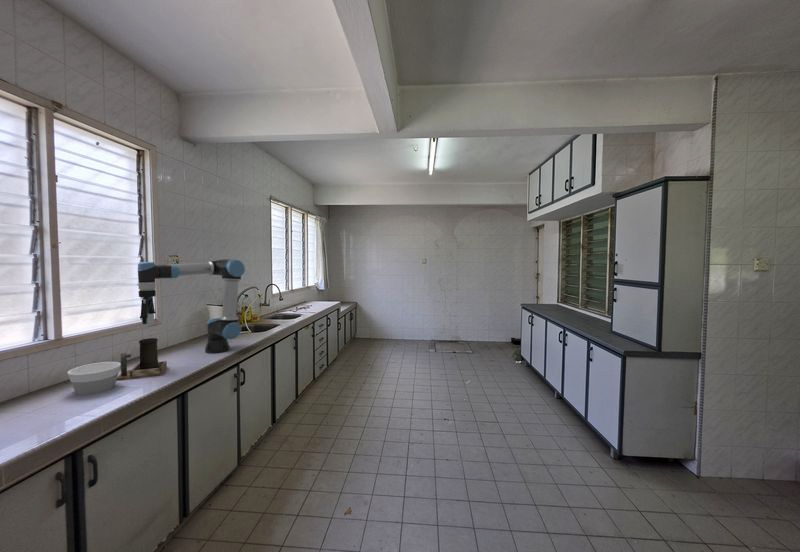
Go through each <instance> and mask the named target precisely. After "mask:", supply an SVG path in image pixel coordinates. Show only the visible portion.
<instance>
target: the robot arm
mask: <svg viewBox="0 0 800 552" xmlns="http://www.w3.org/2000/svg"><path fill="white" fill-rule="evenodd" d="M245 267H246V266H245V264H244V263H243V262H242V261H241V260H238V259H232V258H230V259H225V258H224V259H217V260H209V261H207V262H198V263H194V262H193V263H176V264H175V263H171V264H156V263H155V262H153V261H149V262H148V261H147V262H146V261H141V262H140V261H139V262H138V263H137V277H138V278H137V280H138V282H137V284H136V285H137V287H138V297H139V298H143V299H141V301H140V302H141V306H140V307H141V308H140V316H139V319H141V330H142V331H146V330H147V331H148V330H149V328H150V327H149V326H154V325H155V314H157V313H156V310H155V303H154V297H156V293H157V292H156V285H157V284H156V279H177V278H178V277H181V276H182V277H183V276H195V275H209V276H221V279H222V280H223V294H222V295H223V296H222V297H223V298H222V311H221V312H222V313H221V317H216V318H209V319H208V320H207V324H206V326H207V342H206V345H205V349H204V352H205V353H206V354H217V353H218V354H219V353H226V352H228V351H229V350H231V349H230V343H229V341H228V340H234V339H235V338H237V337H238V336H239V335H240V334H241V332H242V325H241V324H240V323H239V317H237V310H238V309H237V308H238V306H237V305H238V291H239V282H240V281H241V280H242V276H243V275H244V273H245V271H246V268H245Z"/></svg>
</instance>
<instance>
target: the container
mask: <svg viewBox="0 0 800 552" xmlns="http://www.w3.org/2000/svg"><path fill="white" fill-rule="evenodd" d="M158 341H159V340H158V338H155V337H152V338H151V337H150V338H149V337H148V338H142V339H140V340H139V341H138V344H139V364H140V368H139V369H140V370H144V369H153V368H159V367H158V366H159V365H158V362H159V357H158V355H159V353H158Z"/></svg>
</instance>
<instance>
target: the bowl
mask: <svg viewBox="0 0 800 552" xmlns="http://www.w3.org/2000/svg"><path fill="white" fill-rule="evenodd" d="M120 371H121V362H119V361H101V362H96V363H95V362H94V363H87V364H84V365H81V366H77V367H76V366H75V367H74V368H72V369H70V370H68V371H67V376H68V378H69V380H70V382H71V385H72V388H73V389H74V392H75V395H79V396H81V395H82V396H85V395H86V396H87V395H95V394H98V393H99V394H100V393H103V392H106V391H109V390H111V389H113V388H114V387H116V383H117V381H116V380H117V377H118V376H119V373H120Z"/></svg>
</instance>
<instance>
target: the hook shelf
mask: <svg viewBox="0 0 800 552" xmlns="http://www.w3.org/2000/svg"><path fill="white" fill-rule="evenodd" d="M128 358H132V354H127V352H123V353H120V363H121V366H120V374H118V376H117V380H116V382H117V381H125V380H132V379H134V380H135V379H141V378H149V377H157V376H158V377H159V376H162V375H163V374H164V373H165V371H166V369H167V367H168V366H167V362H168V361H167V360H162V361H158V365H159V366H158V367H159V368H153V369H144V370H140V369H139V368H140V363H136V364H135V365H134V366H133V368H132V369H128V365H127V363H128V362H127V360H128Z"/></svg>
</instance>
